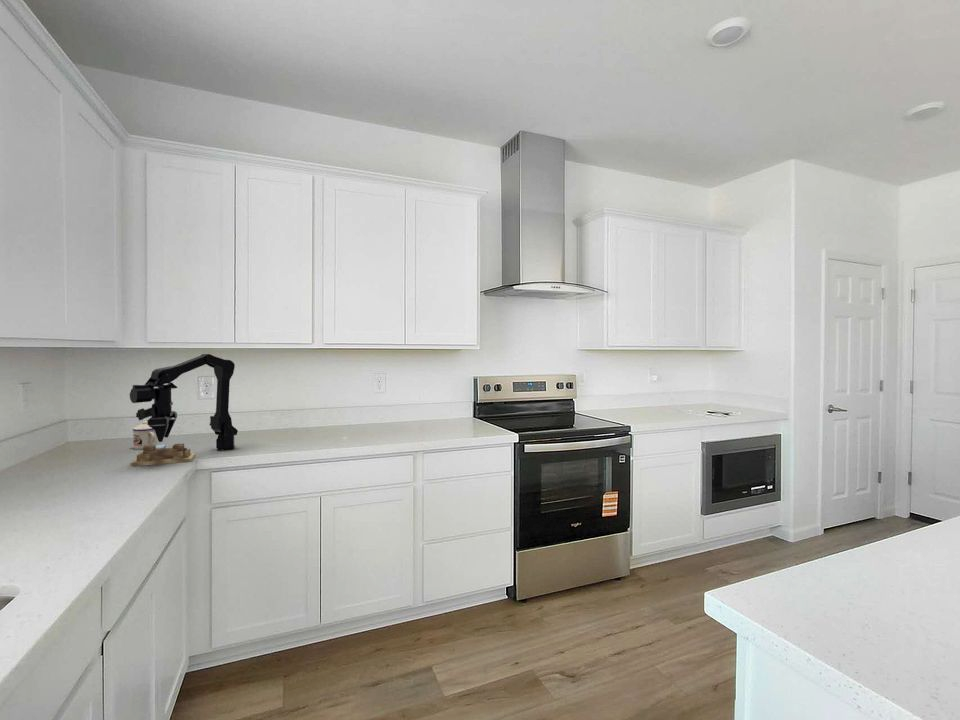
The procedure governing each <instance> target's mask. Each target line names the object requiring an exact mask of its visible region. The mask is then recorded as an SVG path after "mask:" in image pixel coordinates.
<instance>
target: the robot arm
mask: <svg viewBox="0 0 960 720" xmlns="http://www.w3.org/2000/svg"><path fill="white" fill-rule="evenodd" d="M205 365H207V366H208V367H210V368H212V369H213V371H214V372H213V373H214V376H215V377H216V403H215V413H214V415H210V417H209V421H210V422H209V426H210V429H211V430H212V431H213V432H214V434H215V435H216V436H217V438H216V439H215V443H216V451H228V450H234V449H235V447H236V445H235V436H237V435H238V432H239V430H238V429H237V428H236V427H234V425H233V421H232V417H231V415H230V411H229V408H230V407H229V404H230V403H229V402H230V380H231V379H232V377H233V375H234V373H235V366H236V363H235V362H233V361H232V360H230V359H223V358H221V357H218V356H214V355H212V354H211V353H202V354H200V355H199V356H196V357H193V358H190V359H188V360H185V361H183V362H180V363H177V364H175V365H171V366H166V367H165V366H164V367H160V368H155V369H154V370H153V371H151V375H150V377H149V378H148V380H147V381H146V382H145V383H144V384H132V388H131V390H130V392H129V399H130V401H131V403H132V404H139V403H140V404H141V403H149V402H152V401H153V403H152V404H151V407H149V408H141V409H140V408H139V409H138V410H137V412H136V413H135V417H136V418H137V419H138V421H142V420H144V419H147V418H148V420H146V421H147V422H148V425H149V427H151V428H153V429H154V430H155V433H156V435H157V442H158V443H162V442H163V440H164V438H169V436H170V433H171V432H172V429H173V427H174V425H175V423H176V421H177V419H178V412H176V411H174V410H172V405H174V402H173V401H172V389H173V390H174V389H178V386H176V385H175V384H174V381H175V380H176V379H178V378H179V377H180V376H182V375H183V374H185V373H188V372H191V371H193V370H195V369H198V368H200V367H203V366H205ZM149 417H150V418H149Z"/></svg>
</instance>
